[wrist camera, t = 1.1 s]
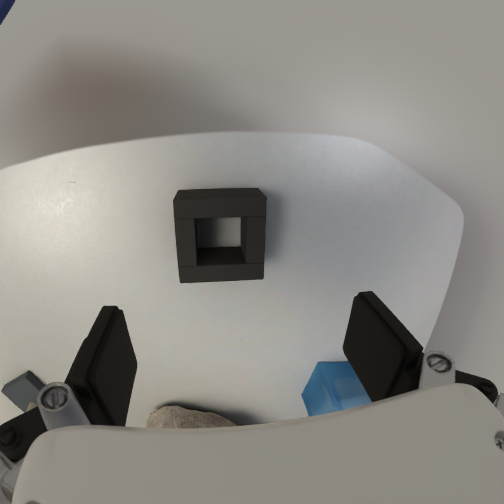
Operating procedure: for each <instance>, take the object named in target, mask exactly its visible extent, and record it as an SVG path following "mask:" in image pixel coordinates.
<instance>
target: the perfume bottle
mask: <svg viewBox="0 0 504 504" xmlns="http://www.w3.org/2000/svg"><path fill="white" fill-rule="evenodd" d="M302 398H303V401H304V403H305V406H306V409H307V412H308V414H309V417H311V416H316V415H322V414H327V413H331V412H336V411H341V410H345V409H349V408H353V407H357V406H361V405H365V404H369V403H372V402H371V400H370V398H369V396H368V394H367V393H366V391H365V389H364V387H363V386H362V384H361V382H360V380H359V378H358V377H357V375H356V373H355V371H354V370H353V368H352V366H351V364H350V363H349V362H318V364H317V366H316V368H315V370H314V372H313V374H312V376H311V378H310V380H309V382H308V384H307V385H306V387H305V389H304V391H303V393H302Z"/></svg>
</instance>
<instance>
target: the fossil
mask: <svg viewBox="0 0 504 504" xmlns="http://www.w3.org/2000/svg"><path fill="white" fill-rule="evenodd" d="M233 426H237V425H236V424H235V423H233V422H231V421H229V420H228V419H226V418H224V417H222V416H221V415H219V414H216V413H213V412H207V413H204V412H201V411H197V410H188V409H184V408H182V407H180V406H164V407H162V408H160V409H159V410H157V411H154V412H152V413H150V415H149V418H148V421H147V428H218V427H233Z"/></svg>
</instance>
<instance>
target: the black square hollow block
mask: <svg viewBox="0 0 504 504" xmlns="http://www.w3.org/2000/svg"><path fill="white" fill-rule="evenodd" d="M266 199H267V198H266V196H265V195H264V194H263V193H262V192H261V191H260V190H259V189H258V188H226V189H195V190H178V192H177V194H176V196H175V198H174V200H173V206H174V219H175V220H174V221H175V235H176V247H177V259H178V269H179V279H180V283H196V282H219V281H239V280H257V279H263V278H264V254H265V227H266ZM219 217H241V247H219V248H198V239H197V218H219Z"/></svg>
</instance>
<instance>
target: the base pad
mask: <svg viewBox="0 0 504 504" xmlns="http://www.w3.org/2000/svg"><path fill="white" fill-rule="evenodd" d="M44 386H45V385H44V384H43V383H41V382H40V381H39V380H38V379H37V378H36V377H35V376H34V375H33V374H32V373H31V372H30V371H27V372H26V373H24V374H22V375H21V376H19V377H17V378H16V379H14V380H12V381H11V382H9V383H7V384H6V385H4V387H3V389H2V391H1V392H2V393H3V394H4V395H5V396H7V397H8V398H9V399H10V400H11V401H12V402H13V403H14V404H15V405H16V406H18V407H19V408H20V409H21V410H22V411H23V412H27V411H29V410H31V409H33V408H35V407H37V406H38V405H37V396H38V393H39V392H40V390H41V389H42V388H43V387H44Z"/></svg>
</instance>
